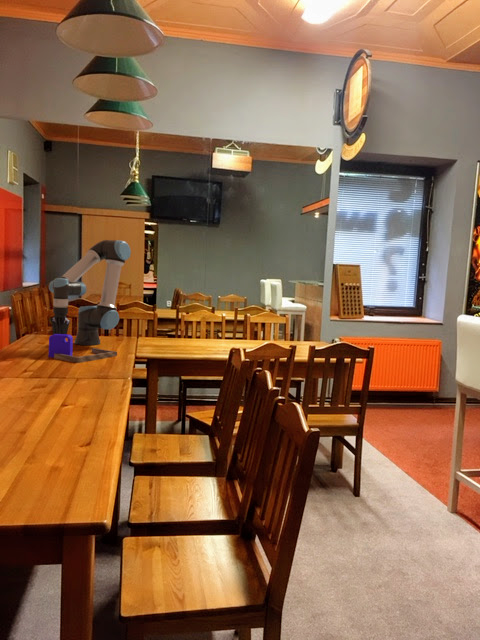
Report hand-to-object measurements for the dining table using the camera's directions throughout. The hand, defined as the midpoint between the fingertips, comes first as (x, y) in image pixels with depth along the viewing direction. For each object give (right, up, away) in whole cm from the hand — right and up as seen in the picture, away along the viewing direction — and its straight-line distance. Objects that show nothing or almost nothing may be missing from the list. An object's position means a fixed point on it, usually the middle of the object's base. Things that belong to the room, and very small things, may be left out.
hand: (59, 349), depth 281 cm
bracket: (+4, -3, -4) cm, 6 cm away
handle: (+16, -4, -8) cm, 18 cm away
